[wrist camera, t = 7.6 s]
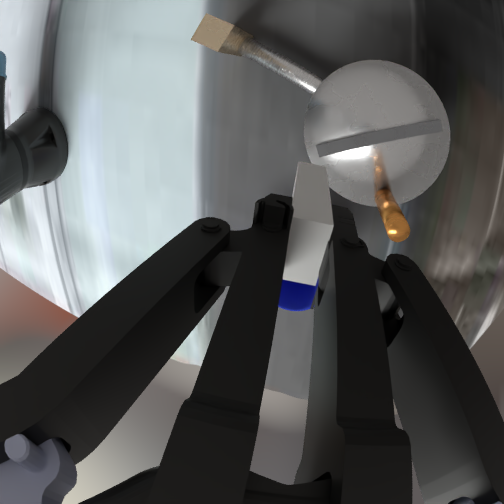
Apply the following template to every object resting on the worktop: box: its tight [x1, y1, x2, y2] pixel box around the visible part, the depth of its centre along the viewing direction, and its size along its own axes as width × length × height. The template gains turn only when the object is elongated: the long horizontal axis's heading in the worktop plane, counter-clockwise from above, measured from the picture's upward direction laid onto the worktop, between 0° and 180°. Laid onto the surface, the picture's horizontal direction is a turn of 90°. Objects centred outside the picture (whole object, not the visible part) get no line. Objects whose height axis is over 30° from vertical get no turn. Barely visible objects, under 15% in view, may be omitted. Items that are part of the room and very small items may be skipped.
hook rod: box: [191, 14, 323, 95], centre depth 29 cm, size 25×3×10 cm, turn 60°
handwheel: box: [304, 60, 450, 242], centre depth 23 cm, size 15×15×8 cm
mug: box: [278, 276, 319, 311], centre depth 42 cm, size 8×12×10 cm
